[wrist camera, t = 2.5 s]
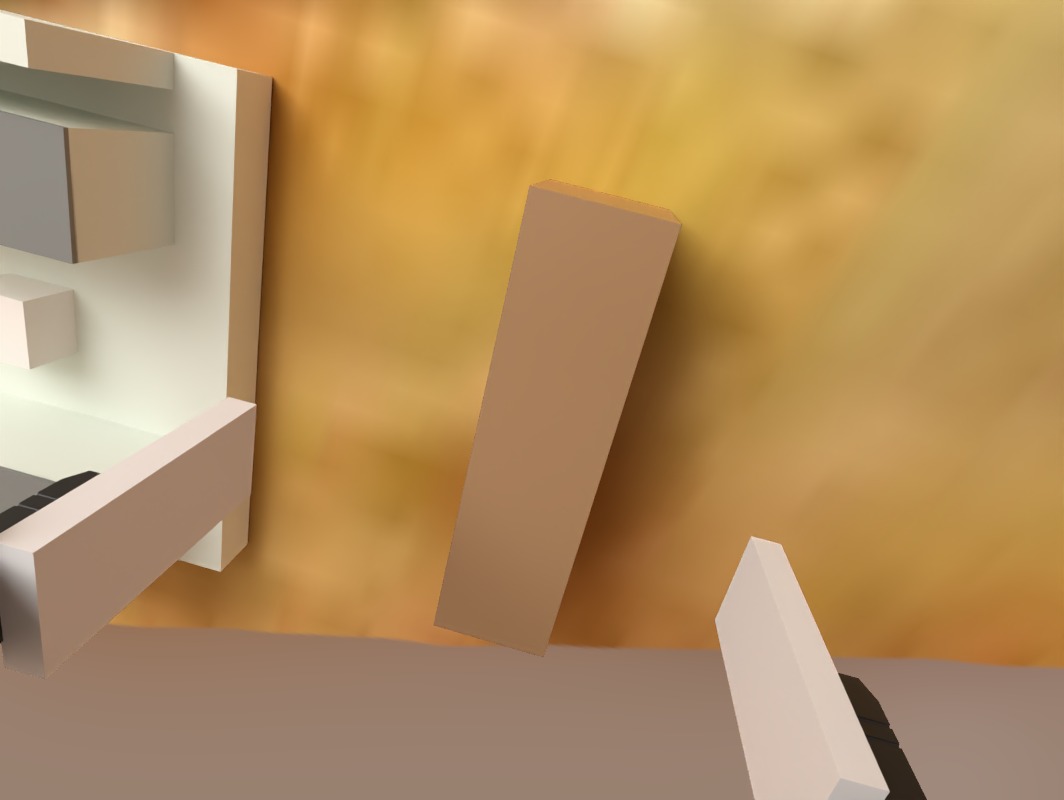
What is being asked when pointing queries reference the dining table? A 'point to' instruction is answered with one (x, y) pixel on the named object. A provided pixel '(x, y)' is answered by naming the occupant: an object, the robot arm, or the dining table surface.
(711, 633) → the dining table surface
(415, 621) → the dining table surface
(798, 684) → the robot arm
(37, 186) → the stand
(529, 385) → the tan wooden plank
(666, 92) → the dining table surface
